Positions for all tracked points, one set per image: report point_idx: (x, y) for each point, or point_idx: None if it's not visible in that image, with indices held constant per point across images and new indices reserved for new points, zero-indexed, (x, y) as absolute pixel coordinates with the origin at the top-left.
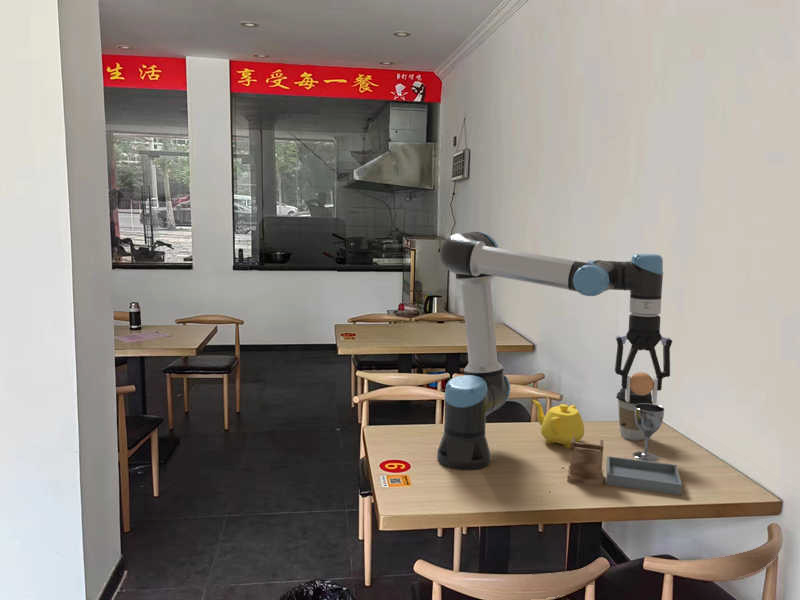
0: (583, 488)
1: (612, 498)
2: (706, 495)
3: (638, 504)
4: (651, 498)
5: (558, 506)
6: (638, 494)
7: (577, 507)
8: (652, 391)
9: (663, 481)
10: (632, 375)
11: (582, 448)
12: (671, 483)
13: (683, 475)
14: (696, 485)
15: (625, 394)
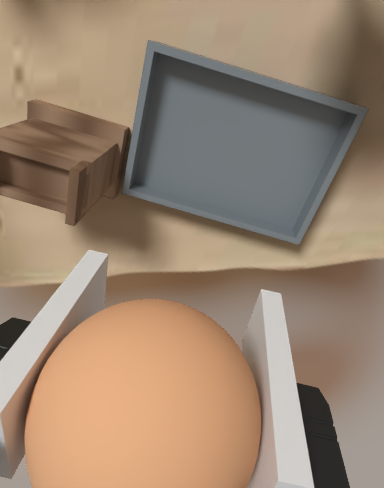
0: None
1: (129, 248)
2: (359, 230)
3: (177, 271)
4: (215, 247)
5: (22, 279)
6: (192, 230)
7: (56, 282)
8: (261, 351)
9: (258, 228)
10: (28, 458)
11: (17, 197)
12: (275, 237)
13: (381, 107)
14: (373, 176)
15: (73, 275)
